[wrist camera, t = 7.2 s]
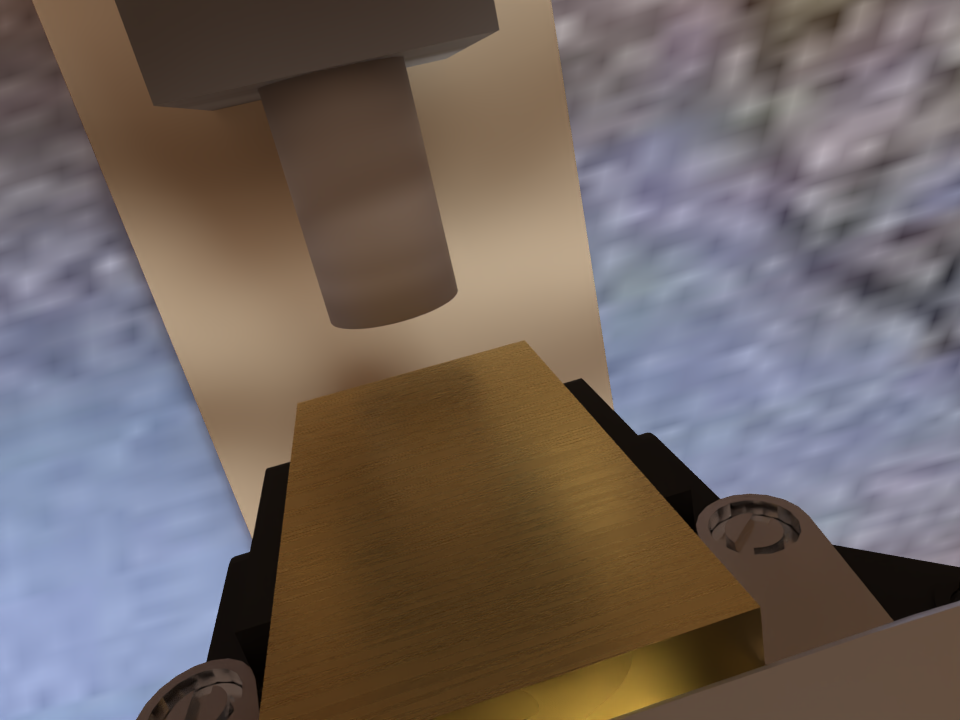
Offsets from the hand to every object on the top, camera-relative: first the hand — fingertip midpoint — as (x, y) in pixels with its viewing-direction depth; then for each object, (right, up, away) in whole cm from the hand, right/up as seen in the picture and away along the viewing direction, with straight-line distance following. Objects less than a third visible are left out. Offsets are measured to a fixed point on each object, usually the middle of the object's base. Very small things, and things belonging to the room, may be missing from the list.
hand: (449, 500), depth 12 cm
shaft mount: (-1, +2, +7) cm, 7 cm away
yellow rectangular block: (0, 0, +1) cm, 1 cm away
